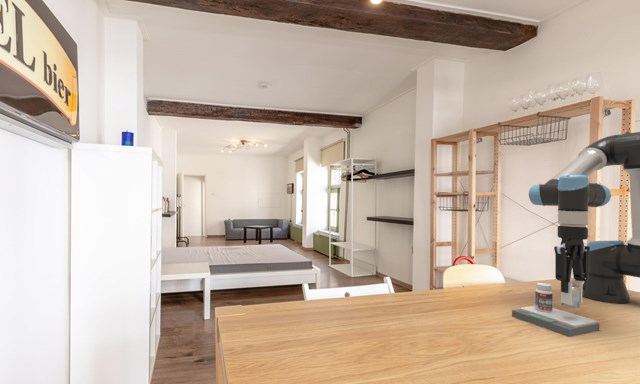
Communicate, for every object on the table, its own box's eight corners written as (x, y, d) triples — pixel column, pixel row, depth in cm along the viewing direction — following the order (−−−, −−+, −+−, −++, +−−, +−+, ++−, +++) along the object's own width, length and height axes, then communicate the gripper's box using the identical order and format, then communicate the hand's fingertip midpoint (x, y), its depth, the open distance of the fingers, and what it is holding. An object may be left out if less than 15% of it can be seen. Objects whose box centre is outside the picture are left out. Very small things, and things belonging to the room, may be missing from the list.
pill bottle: (538, 311, 111) (538, 285, 112) (532, 307, 116) (532, 282, 116) (555, 313, 111) (555, 286, 111) (548, 308, 115) (548, 283, 115)
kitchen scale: (540, 311, 120) (540, 304, 120) (599, 330, 103) (599, 321, 103) (511, 316, 114) (512, 308, 114) (569, 336, 98) (569, 327, 98)
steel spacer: (582, 307, 104) (583, 287, 105) (573, 308, 103) (573, 288, 103) (567, 302, 109) (568, 283, 109) (558, 304, 107) (558, 284, 107)
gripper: (577, 224, 113) (576, 296, 112) (541, 224, 106) (540, 301, 105) (603, 226, 106) (602, 303, 105) (567, 226, 99) (566, 309, 99)
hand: (571, 302), depth 105 cm, fingers closed on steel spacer, 4 cm apart
